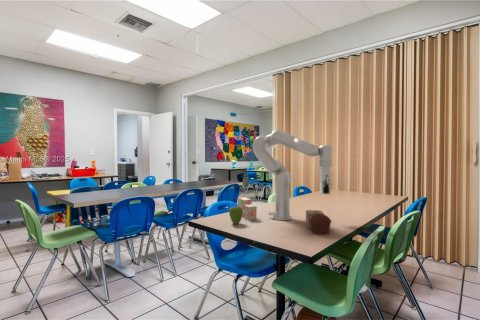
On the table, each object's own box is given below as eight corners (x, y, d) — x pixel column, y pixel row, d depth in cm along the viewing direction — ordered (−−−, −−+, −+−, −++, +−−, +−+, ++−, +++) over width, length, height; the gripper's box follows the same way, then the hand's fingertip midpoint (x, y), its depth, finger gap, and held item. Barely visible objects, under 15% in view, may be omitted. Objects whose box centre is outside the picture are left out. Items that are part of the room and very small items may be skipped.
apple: (244, 222, 174) (244, 204, 173) (240, 225, 166) (240, 207, 165) (231, 221, 176) (231, 204, 176) (227, 225, 168) (227, 206, 168)
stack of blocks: (256, 219, 181) (256, 201, 180) (248, 220, 179) (247, 202, 178) (245, 213, 201) (245, 196, 201) (237, 214, 199) (237, 197, 198)
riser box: (308, 228, 158) (308, 213, 158) (306, 224, 167) (305, 210, 167) (324, 229, 157) (324, 213, 157) (320, 225, 166) (320, 210, 166)
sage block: (321, 194, 171) (321, 183, 171) (319, 192, 177) (320, 182, 177) (330, 194, 171) (330, 183, 171) (328, 192, 176) (328, 182, 176)
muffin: (306, 232, 150) (306, 215, 150) (314, 228, 158) (314, 211, 158) (326, 237, 142) (326, 218, 142) (334, 232, 151) (334, 214, 150)
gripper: (316, 163, 182) (316, 190, 183) (322, 164, 165) (321, 194, 166) (328, 163, 181) (328, 190, 182) (334, 165, 164) (334, 194, 165)
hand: (325, 192), depth 174 cm, fingers closed on sage block, 5 cm apart
